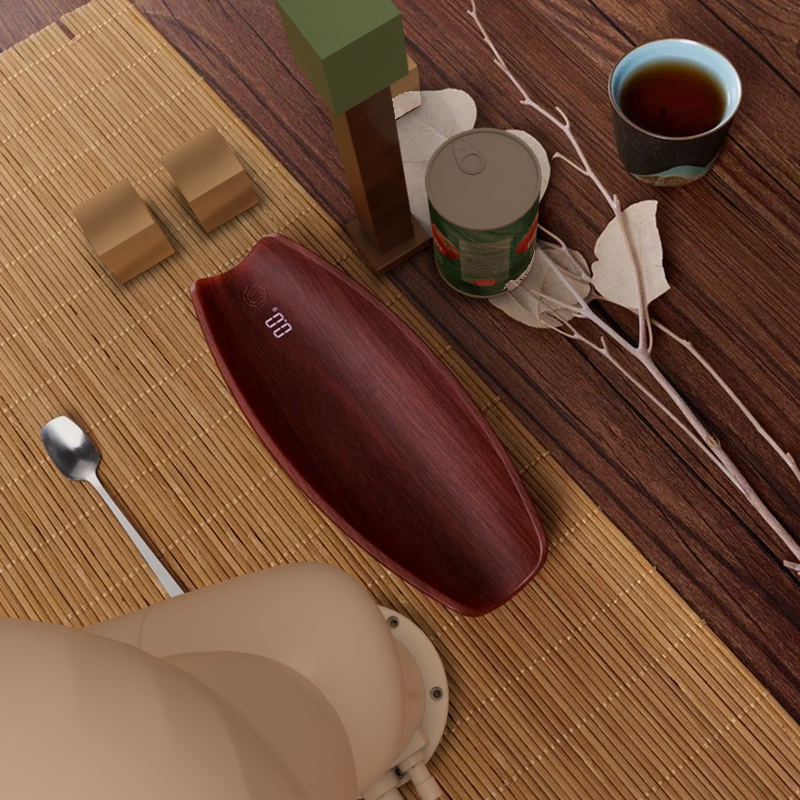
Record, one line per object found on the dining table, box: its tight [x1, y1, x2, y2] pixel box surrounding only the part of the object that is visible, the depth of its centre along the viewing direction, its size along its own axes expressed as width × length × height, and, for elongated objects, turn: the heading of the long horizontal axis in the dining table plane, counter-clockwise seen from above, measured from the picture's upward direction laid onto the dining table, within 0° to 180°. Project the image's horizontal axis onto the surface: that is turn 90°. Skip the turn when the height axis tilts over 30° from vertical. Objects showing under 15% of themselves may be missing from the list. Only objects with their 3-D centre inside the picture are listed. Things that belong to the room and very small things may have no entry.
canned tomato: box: [424, 127, 543, 300], centre depth 67 cm, size 8×8×11 cm
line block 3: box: [390, 51, 421, 98], centre depth 76 cm, size 5×5×5 cm
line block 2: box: [159, 124, 260, 234], centre depth 74 cm, size 5×5×5 cm
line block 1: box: [70, 176, 176, 285], centre depth 74 cm, size 5×5×5 cm
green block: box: [275, 0, 409, 117], centre depth 52 cm, size 5×5×5 cm
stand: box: [325, 85, 432, 278], centre depth 64 cm, size 5×5×21 cm
